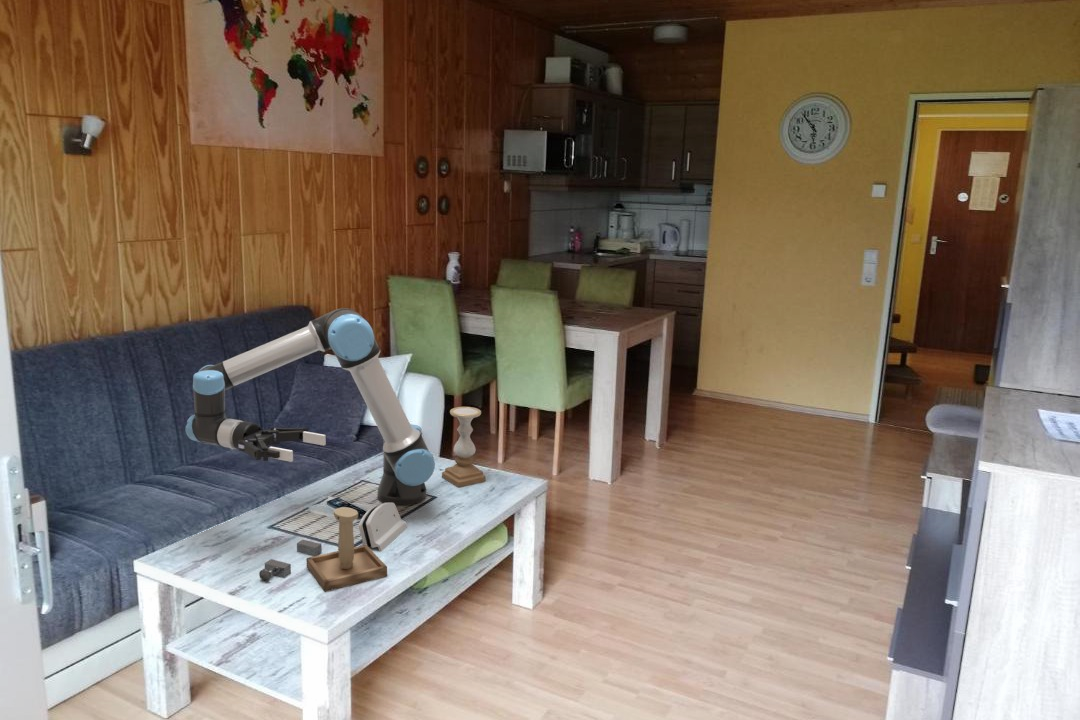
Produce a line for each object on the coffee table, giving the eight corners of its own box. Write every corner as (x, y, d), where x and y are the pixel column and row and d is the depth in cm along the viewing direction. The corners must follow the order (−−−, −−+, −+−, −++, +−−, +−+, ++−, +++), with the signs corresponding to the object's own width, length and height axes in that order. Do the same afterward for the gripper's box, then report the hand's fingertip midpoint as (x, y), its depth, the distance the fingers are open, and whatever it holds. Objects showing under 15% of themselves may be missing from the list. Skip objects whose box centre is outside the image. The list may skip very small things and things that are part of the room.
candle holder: (441, 477, 267) (442, 408, 262) (468, 471, 273) (470, 404, 268) (458, 487, 258) (460, 417, 253) (486, 481, 265) (488, 412, 260)
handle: (347, 574, 197) (346, 518, 194) (330, 566, 201) (329, 511, 198) (362, 567, 201) (362, 512, 198) (345, 559, 205) (344, 505, 201)
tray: (366, 553, 211) (366, 544, 211) (387, 576, 200) (387, 566, 200) (306, 567, 203) (306, 558, 202) (324, 591, 191) (324, 582, 191)
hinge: (380, 552, 213) (369, 517, 211) (365, 554, 214) (354, 520, 213) (407, 527, 228) (397, 494, 227) (393, 529, 230) (383, 497, 229)
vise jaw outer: (271, 568, 201) (271, 556, 201) (290, 573, 199) (290, 561, 199) (254, 578, 196) (254, 567, 195) (274, 584, 194) (273, 572, 193)
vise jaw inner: (302, 548, 213) (302, 539, 212) (321, 552, 211) (321, 544, 210) (296, 551, 210) (296, 543, 210) (315, 556, 208) (315, 547, 208)
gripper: (272, 435, 221) (337, 447, 214) (206, 463, 198) (277, 478, 191) (271, 409, 219) (337, 420, 212) (205, 435, 196) (276, 448, 189)
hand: (309, 448), depth 201 cm, fingers open, 13 cm apart
